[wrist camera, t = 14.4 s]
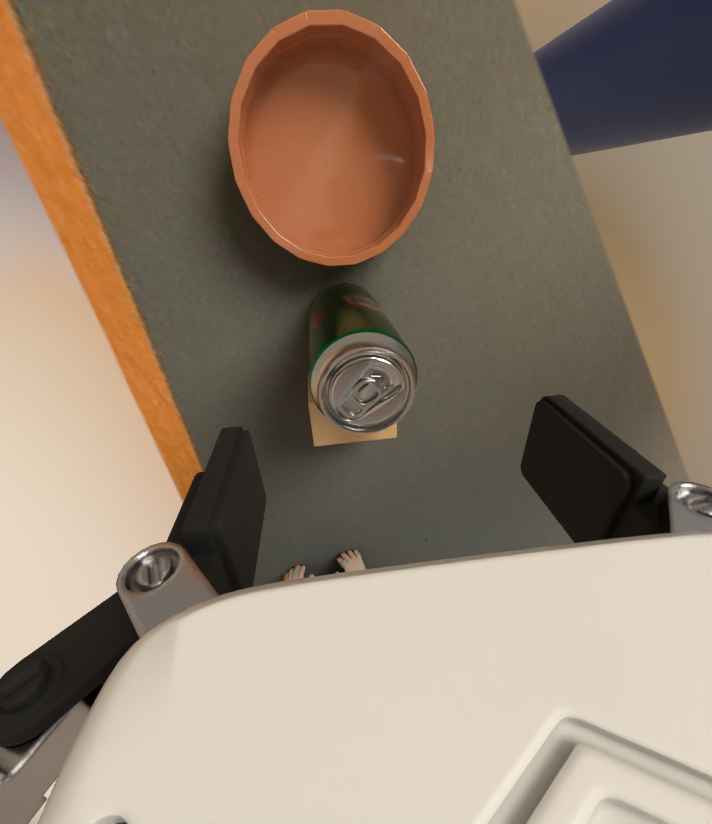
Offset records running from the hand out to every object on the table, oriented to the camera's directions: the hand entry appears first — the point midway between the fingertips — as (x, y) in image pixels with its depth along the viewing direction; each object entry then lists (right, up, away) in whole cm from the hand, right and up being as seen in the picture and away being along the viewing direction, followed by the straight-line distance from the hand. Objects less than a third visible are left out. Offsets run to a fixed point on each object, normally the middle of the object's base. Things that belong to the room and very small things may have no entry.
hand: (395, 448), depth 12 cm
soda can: (-2, +8, +14) cm, 17 cm away
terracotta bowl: (-3, +16, +9) cm, 19 cm away
